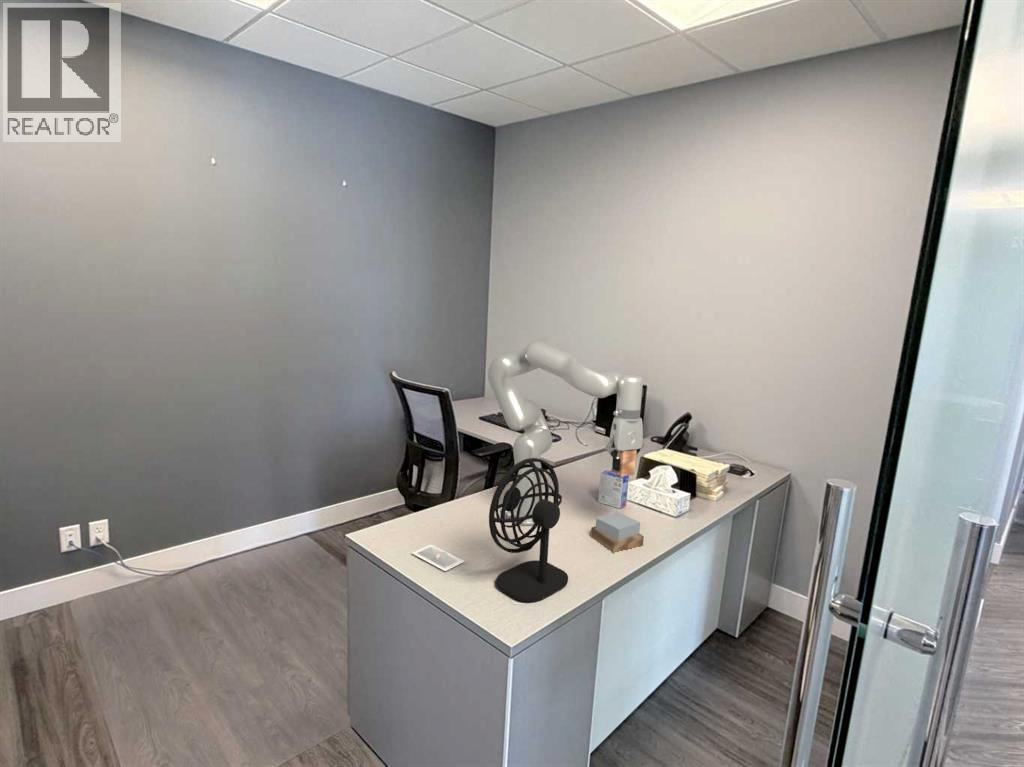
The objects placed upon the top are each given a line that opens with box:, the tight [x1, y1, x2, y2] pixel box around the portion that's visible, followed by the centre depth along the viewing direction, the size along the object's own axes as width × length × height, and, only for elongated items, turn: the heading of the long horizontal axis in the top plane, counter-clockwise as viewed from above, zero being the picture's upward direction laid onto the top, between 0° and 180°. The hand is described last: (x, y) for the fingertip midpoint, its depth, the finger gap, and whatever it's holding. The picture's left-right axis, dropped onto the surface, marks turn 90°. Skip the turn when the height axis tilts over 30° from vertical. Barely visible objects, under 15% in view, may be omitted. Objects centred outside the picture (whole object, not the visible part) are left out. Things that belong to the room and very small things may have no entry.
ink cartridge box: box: [597, 469, 630, 509], centre depth 207 cm, size 10×6×14 cm, turn 53°
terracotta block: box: [611, 450, 637, 476], centre depth 172 cm, size 5×5×8 cm
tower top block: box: [595, 511, 641, 541], centre depth 176 cm, size 10×10×4 cm
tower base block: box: [590, 525, 644, 554], centre depth 177 cm, size 12×12×4 cm
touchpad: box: [411, 544, 465, 572], centre depth 161 cm, size 8×15×2 cm, turn 50°
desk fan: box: [488, 458, 569, 603], centre depth 148 cm, size 27×18×35 cm, turn 135°
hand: (623, 468), depth 173 cm, fingers closed on terracotta block, 5 cm apart
